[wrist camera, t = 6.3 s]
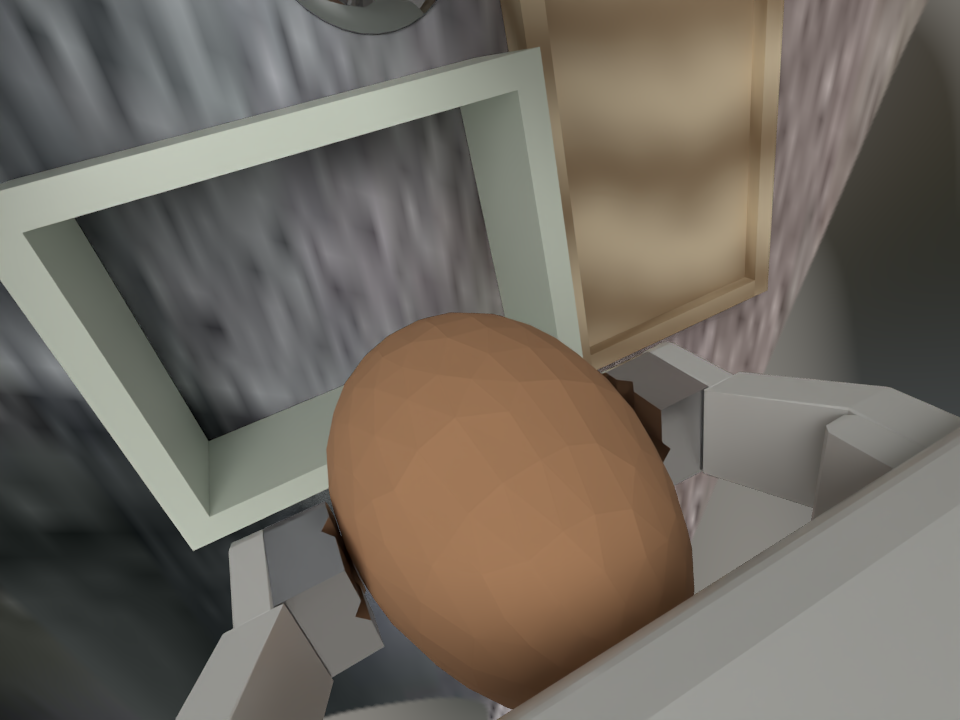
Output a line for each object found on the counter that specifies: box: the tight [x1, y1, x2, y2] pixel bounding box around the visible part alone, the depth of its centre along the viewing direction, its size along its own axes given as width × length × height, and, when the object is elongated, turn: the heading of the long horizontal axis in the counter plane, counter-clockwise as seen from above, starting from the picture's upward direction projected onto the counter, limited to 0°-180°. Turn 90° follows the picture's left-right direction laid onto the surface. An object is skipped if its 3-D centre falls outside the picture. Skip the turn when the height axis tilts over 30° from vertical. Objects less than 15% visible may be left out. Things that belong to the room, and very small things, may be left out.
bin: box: [0, 47, 583, 551], centre depth 20 cm, size 12×16×5 cm
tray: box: [500, 0, 784, 370], centre depth 26 cm, size 18×13×2 cm
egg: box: [326, 313, 694, 709], centre depth 9 cm, size 5×5×8 cm
